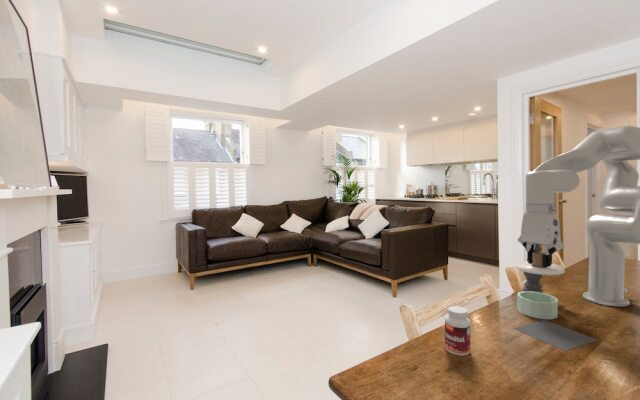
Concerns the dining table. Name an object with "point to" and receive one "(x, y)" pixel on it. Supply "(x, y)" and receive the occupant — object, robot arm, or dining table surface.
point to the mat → (555, 335)
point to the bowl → (537, 305)
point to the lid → (539, 266)
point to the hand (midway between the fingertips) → (539, 264)
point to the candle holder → (533, 277)
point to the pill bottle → (457, 331)
